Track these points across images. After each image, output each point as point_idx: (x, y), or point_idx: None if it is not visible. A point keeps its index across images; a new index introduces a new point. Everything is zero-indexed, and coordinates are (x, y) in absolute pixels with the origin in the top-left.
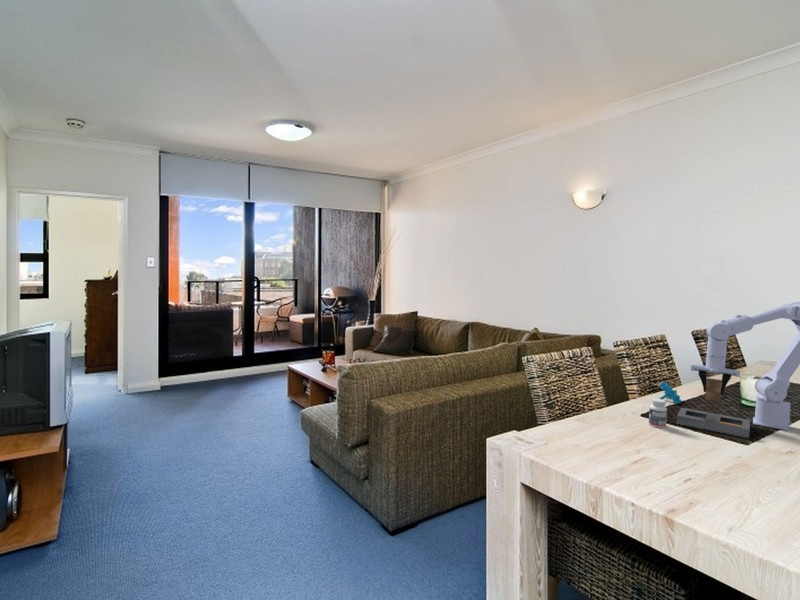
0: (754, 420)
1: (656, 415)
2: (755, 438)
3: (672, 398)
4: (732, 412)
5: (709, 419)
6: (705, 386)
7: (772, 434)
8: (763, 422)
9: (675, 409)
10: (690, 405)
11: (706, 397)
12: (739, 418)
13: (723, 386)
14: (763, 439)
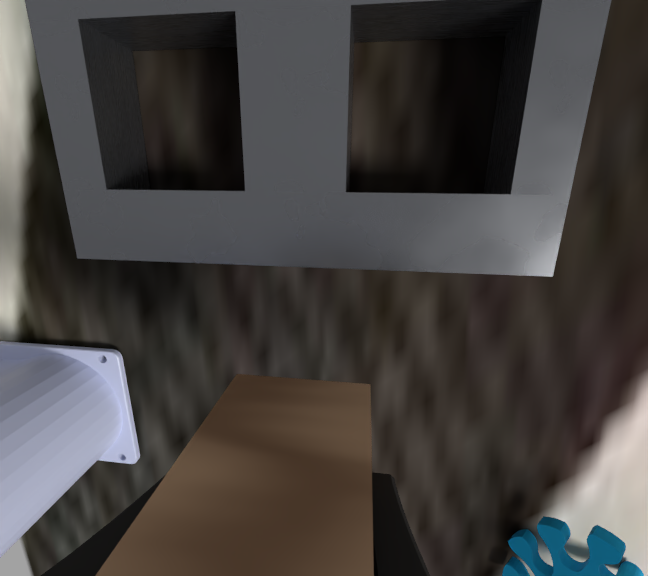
0: (120, 405)
1: None
2: None
3: (588, 537)
4: None
5: (316, 3)
6: (380, 545)
7: (15, 212)
8: (65, 364)
9: (545, 395)
10: (445, 532)
11: (356, 396)
12: (133, 246)
13: (89, 555)
14: (18, 43)
